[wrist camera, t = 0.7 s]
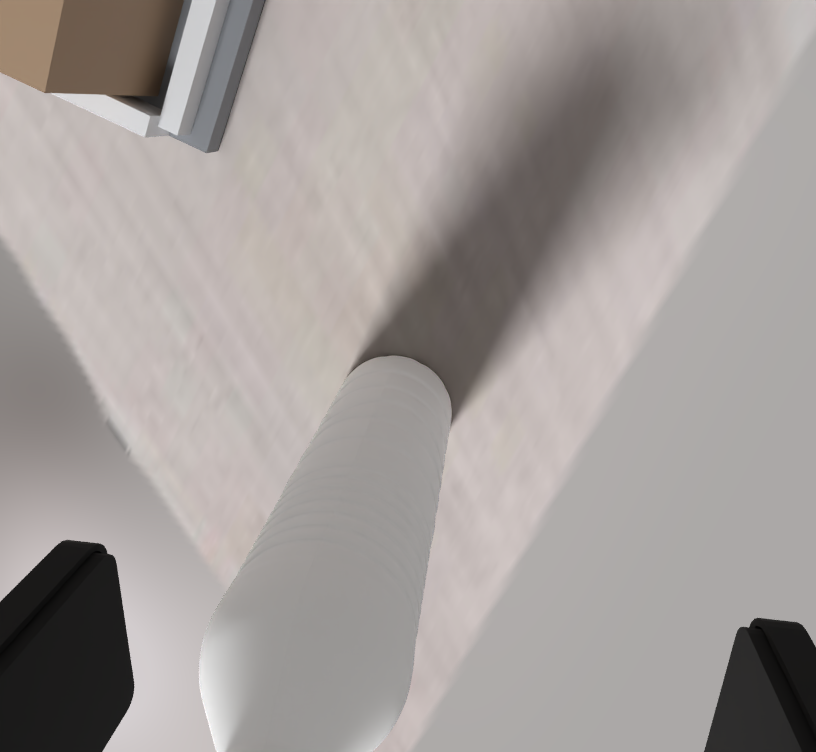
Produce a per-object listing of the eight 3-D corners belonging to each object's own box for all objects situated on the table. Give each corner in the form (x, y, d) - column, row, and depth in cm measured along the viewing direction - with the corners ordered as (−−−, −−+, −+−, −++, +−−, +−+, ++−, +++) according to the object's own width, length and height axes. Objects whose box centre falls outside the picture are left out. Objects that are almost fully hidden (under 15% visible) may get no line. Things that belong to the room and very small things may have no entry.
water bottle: (321, 425, 40) (83, 852, 17) (369, 332, 38) (167, 685, 15) (452, 493, 41) (392, 994, 18) (508, 406, 39) (523, 855, 15)
